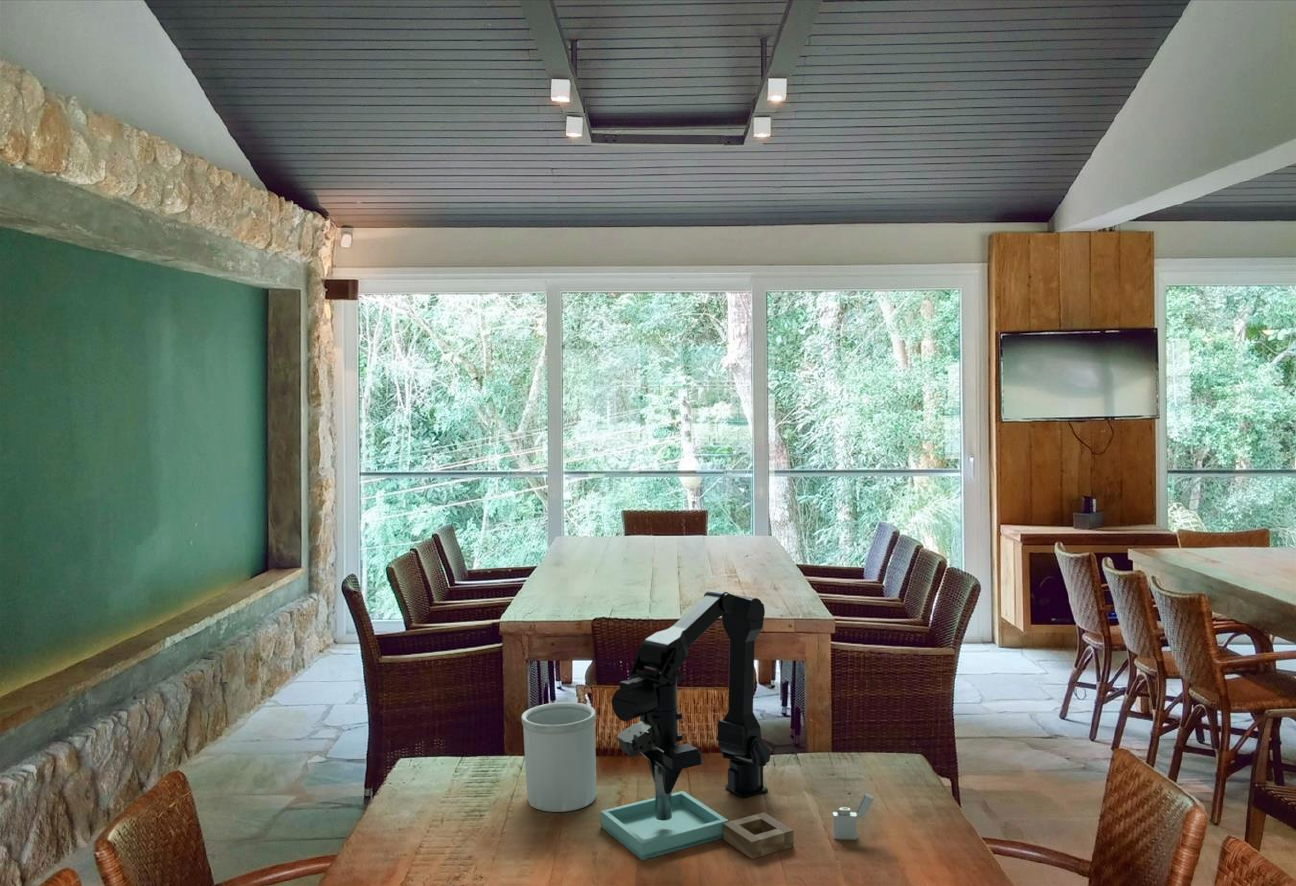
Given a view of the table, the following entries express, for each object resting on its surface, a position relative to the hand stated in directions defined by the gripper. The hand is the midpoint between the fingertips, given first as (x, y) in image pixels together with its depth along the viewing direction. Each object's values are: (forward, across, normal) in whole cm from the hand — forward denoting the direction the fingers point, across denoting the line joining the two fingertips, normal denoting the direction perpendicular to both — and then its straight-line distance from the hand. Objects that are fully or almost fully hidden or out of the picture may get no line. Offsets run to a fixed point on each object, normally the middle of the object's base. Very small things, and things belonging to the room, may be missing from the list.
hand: (663, 790), depth 188 cm
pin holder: (+8, +13, +12) cm, 19 cm away
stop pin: (+5, 0, 0) cm, 5 cm away
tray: (+8, 0, 0) cm, 8 cm away
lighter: (+8, +20, +28) cm, 35 cm away
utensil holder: (+8, -24, -10) cm, 27 cm away
